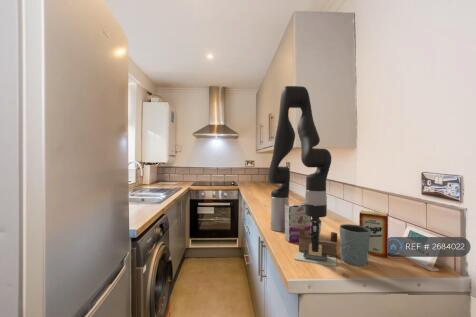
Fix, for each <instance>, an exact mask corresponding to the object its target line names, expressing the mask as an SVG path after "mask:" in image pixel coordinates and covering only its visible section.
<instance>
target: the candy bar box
mask: <svg viewBox="0 0 476 317" xmlns="http://www.w3.org/2000/svg"><path fill="white" fill-rule="evenodd" d="M310 219H312V217H311V216H307V215H306V214H305V202H303V203H300V202H299V203H289V204H285V231H284V240H285V239H286V240H285V241H287V242H288V241H289V242H288V243H290V242H291V243H299V237H300V227H301V225H302V226H305V235H308V236H311V233H310Z"/></svg>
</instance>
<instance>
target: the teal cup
mask: <svg viewBox="0 0 476 317" xmlns="http://www.w3.org/2000/svg"><path fill="white" fill-rule="evenodd" d="M370 233H371V231H370V229H368V228H366V227H363V226H359V225H357V224H340V226H339V238H340V259H341V261H342V262H343V263H344V264H347V265H352V266H355V267H364V266H367V264H368V260H369V259H368V258H369V254H368V249H369V239H370Z"/></svg>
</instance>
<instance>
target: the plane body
mask: <svg viewBox="0 0 476 317" xmlns="http://www.w3.org/2000/svg"><path fill="white" fill-rule="evenodd" d="M337 242H338V233H337V232H335V231H330V237H324V236H319V245H322V253H327V256H328V257H335V258H337V257H338V243H337ZM310 243H311V244H312V241H311V236H308V235H305V226H302V225H301V227H300V237H299V242H298V252H300V253H304V251H305V250H307V251H309V244H310Z"/></svg>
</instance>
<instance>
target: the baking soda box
mask: <svg viewBox="0 0 476 317" xmlns="http://www.w3.org/2000/svg"><path fill="white" fill-rule="evenodd" d="M359 226H363V227H366V228H368V229H370V231H371V233H370V239H369V249H368V255H372V256H376V257H382V258H388V256H389V213H388V212H381V211H373V210H372V211H370V210H361V211H360V212H359Z"/></svg>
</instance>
